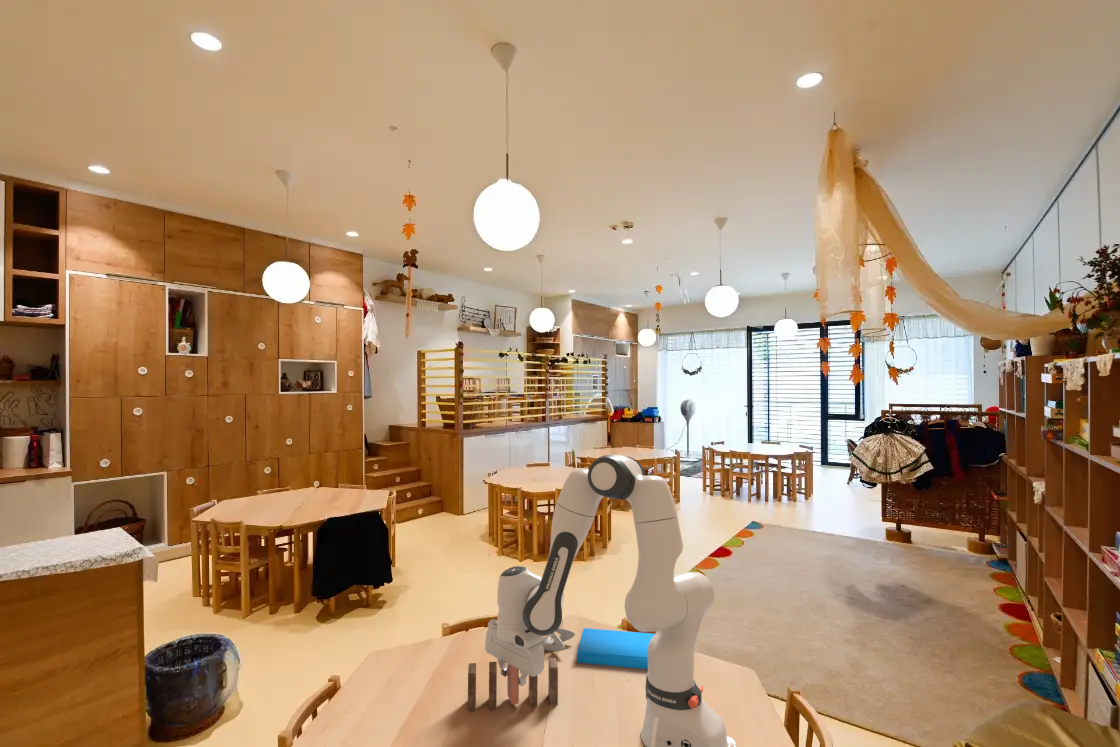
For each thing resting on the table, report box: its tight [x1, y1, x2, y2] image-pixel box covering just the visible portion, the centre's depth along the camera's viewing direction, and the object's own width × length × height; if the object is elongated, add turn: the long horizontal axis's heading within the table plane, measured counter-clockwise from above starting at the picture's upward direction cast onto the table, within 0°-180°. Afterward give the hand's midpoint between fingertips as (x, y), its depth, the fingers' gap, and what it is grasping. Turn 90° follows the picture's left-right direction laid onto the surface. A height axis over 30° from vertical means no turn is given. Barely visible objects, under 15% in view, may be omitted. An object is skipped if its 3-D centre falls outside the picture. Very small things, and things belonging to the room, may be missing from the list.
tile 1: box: [467, 662, 477, 712], centre depth 145 cm, size 2×5×10 cm, turn 7°
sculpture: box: [541, 627, 576, 652], centre depth 179 cm, size 18×20×6 cm
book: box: [576, 627, 656, 670], centre depth 174 cm, size 17×4×25 cm
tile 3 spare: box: [506, 664, 520, 705], centre depth 147 cm, size 2×5×10 cm, turn 18°
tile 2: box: [488, 661, 498, 711], centre depth 146 cm, size 2×5×10 cm, turn 7°
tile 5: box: [547, 657, 559, 706], centre depth 148 cm, size 2×5×10 cm, turn 7°
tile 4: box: [528, 674, 539, 708], centre depth 148 cm, size 2×5×10 cm, turn 7°
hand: (513, 679), depth 147 cm, fingers closed on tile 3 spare, 5 cm apart
